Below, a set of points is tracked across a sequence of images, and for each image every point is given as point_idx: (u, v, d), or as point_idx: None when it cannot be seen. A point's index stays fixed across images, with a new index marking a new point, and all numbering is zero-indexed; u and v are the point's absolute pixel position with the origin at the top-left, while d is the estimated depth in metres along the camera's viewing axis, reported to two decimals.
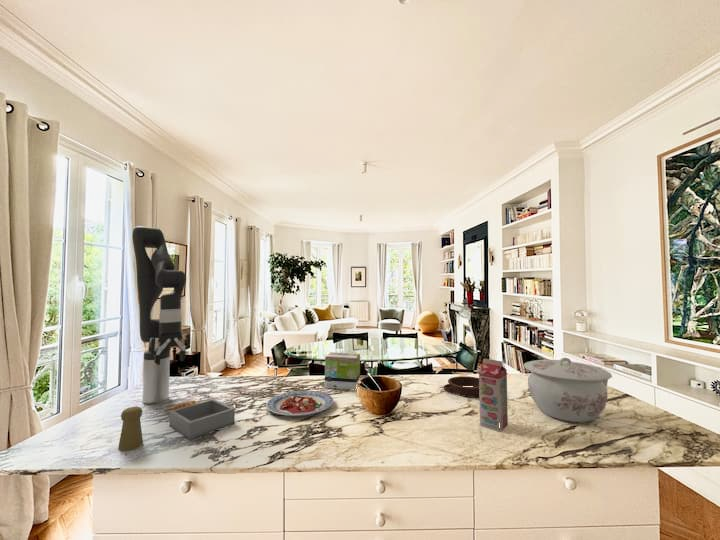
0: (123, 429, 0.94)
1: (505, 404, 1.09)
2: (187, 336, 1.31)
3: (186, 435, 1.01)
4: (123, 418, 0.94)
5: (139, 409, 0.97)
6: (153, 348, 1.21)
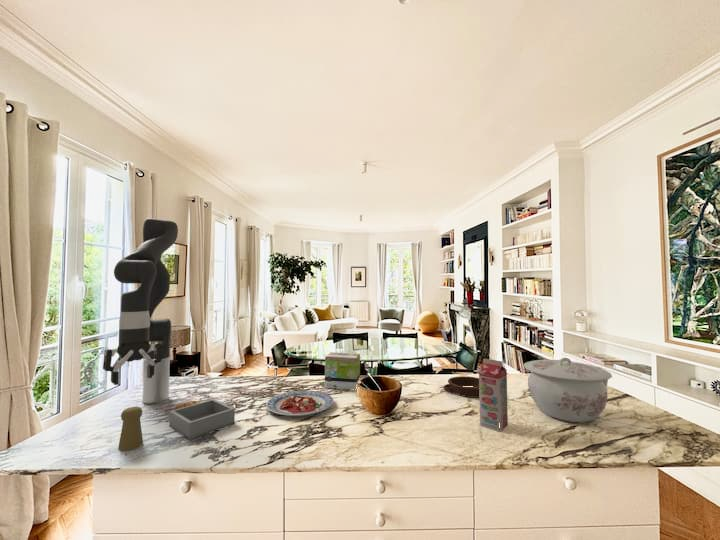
0: (123, 429, 0.94)
1: (505, 404, 1.09)
2: (157, 346, 1.01)
3: (186, 435, 1.01)
4: (123, 418, 0.94)
5: (139, 409, 0.97)
6: (109, 363, 0.91)
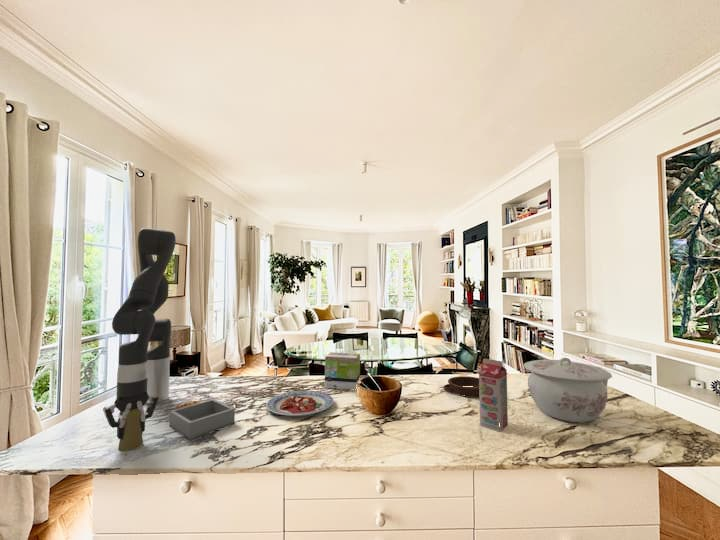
0: None
1: (505, 404, 1.09)
2: (154, 400, 1.00)
3: (186, 435, 1.01)
4: None
5: None
6: (113, 420, 0.92)
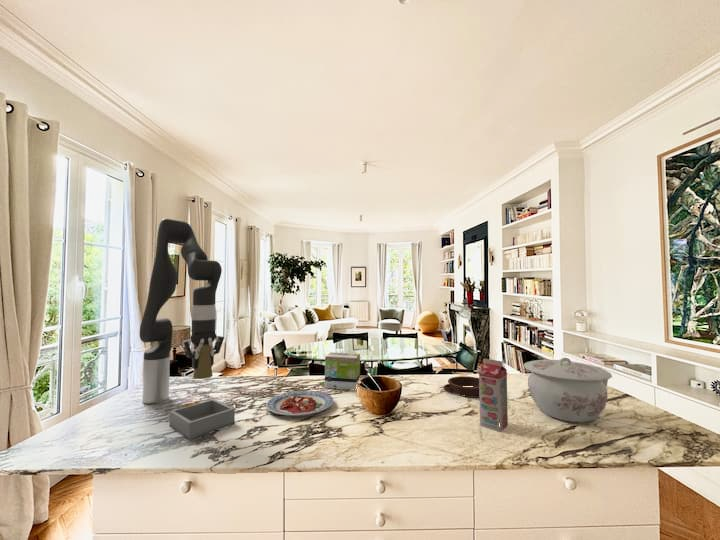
0: None
1: (505, 404, 1.09)
2: (221, 339, 1.15)
3: (186, 435, 1.01)
4: None
5: None
6: (190, 352, 1.07)
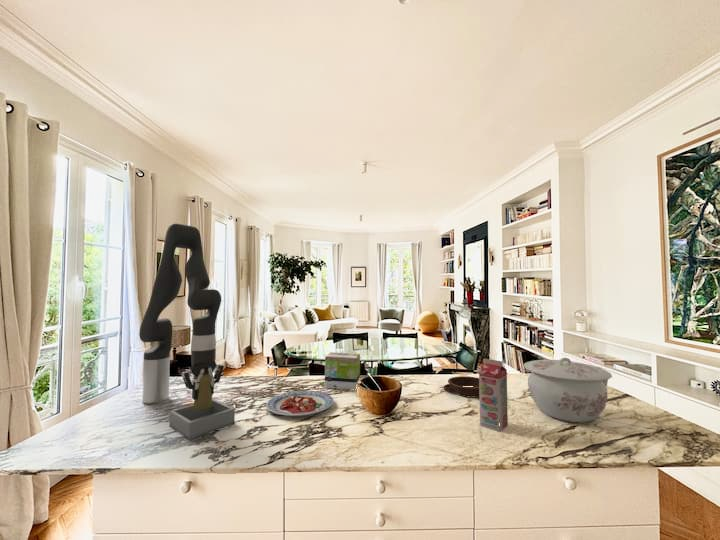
0: None
1: (505, 404, 1.09)
2: (221, 367, 1.15)
3: (186, 435, 1.01)
4: None
5: (210, 375, 1.11)
6: (190, 383, 1.06)
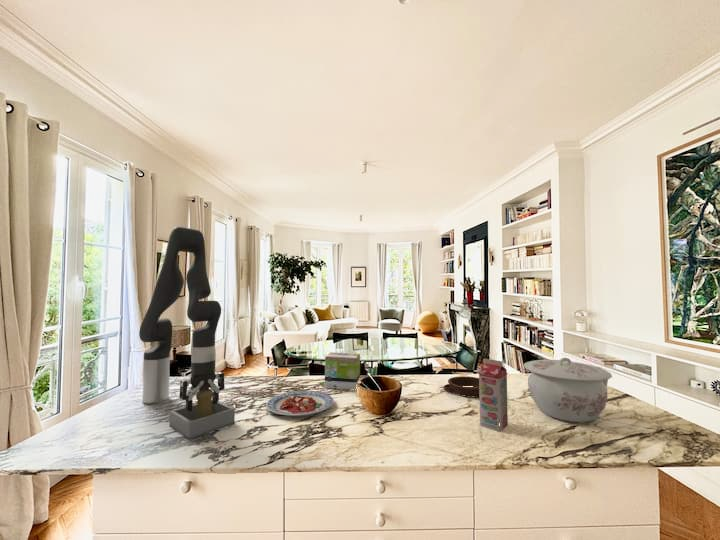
0: (198, 407, 1.09)
1: (505, 404, 1.09)
2: (221, 375, 1.15)
3: (186, 435, 1.01)
4: (198, 398, 1.09)
5: (211, 390, 1.11)
6: (185, 393, 1.05)
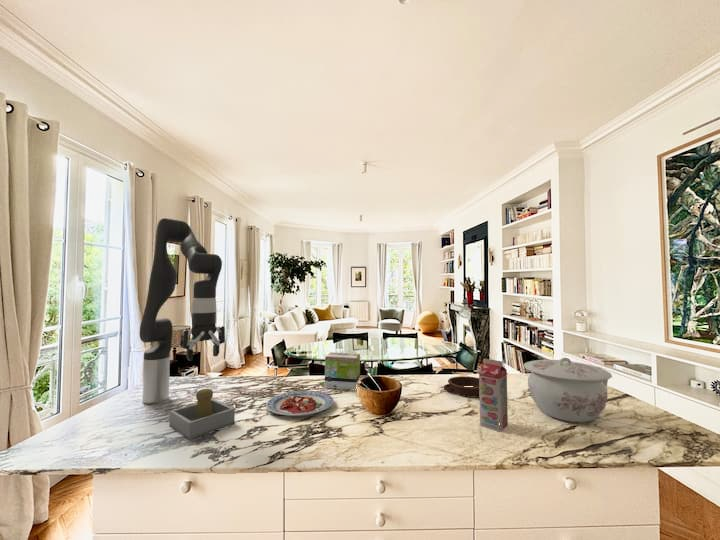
0: (198, 407, 1.09)
1: (505, 404, 1.09)
2: (222, 329, 1.16)
3: (186, 435, 1.01)
4: (198, 398, 1.09)
5: (211, 390, 1.11)
6: (186, 342, 1.06)
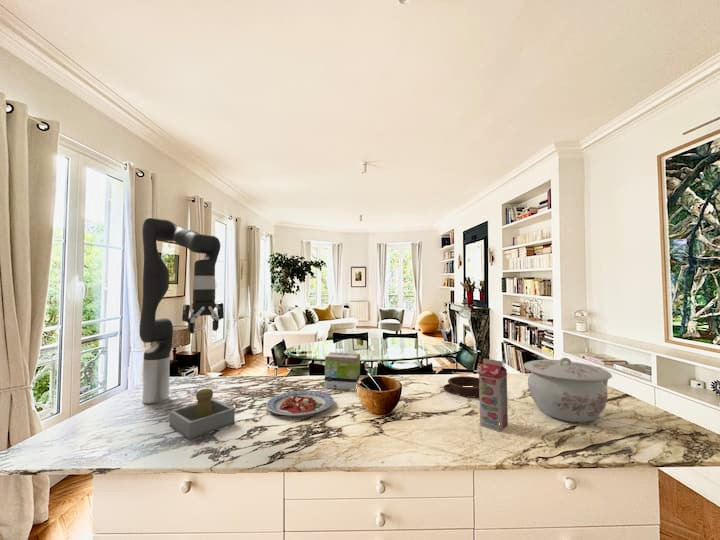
0: (198, 407, 1.09)
1: (505, 404, 1.09)
2: (221, 305, 1.25)
3: (186, 435, 1.01)
4: (198, 398, 1.09)
5: (211, 390, 1.11)
6: (187, 315, 1.15)
